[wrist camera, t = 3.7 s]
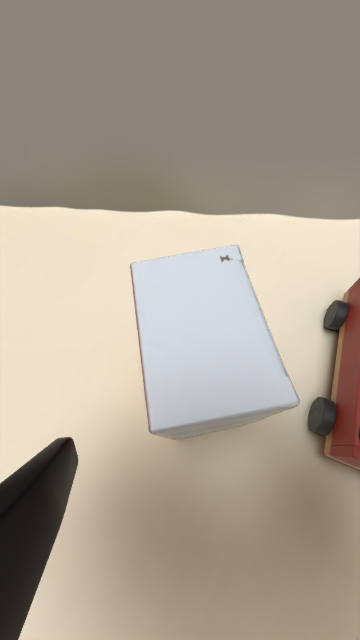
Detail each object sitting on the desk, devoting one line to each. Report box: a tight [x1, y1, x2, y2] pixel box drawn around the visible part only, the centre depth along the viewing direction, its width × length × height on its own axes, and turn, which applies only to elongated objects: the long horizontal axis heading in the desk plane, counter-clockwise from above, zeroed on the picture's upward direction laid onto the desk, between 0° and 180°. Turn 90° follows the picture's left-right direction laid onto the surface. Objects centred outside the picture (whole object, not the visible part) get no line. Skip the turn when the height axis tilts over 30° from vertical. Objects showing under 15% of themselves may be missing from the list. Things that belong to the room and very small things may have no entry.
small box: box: [130, 245, 300, 439], centre depth 15 cm, size 8×6×10 cm
